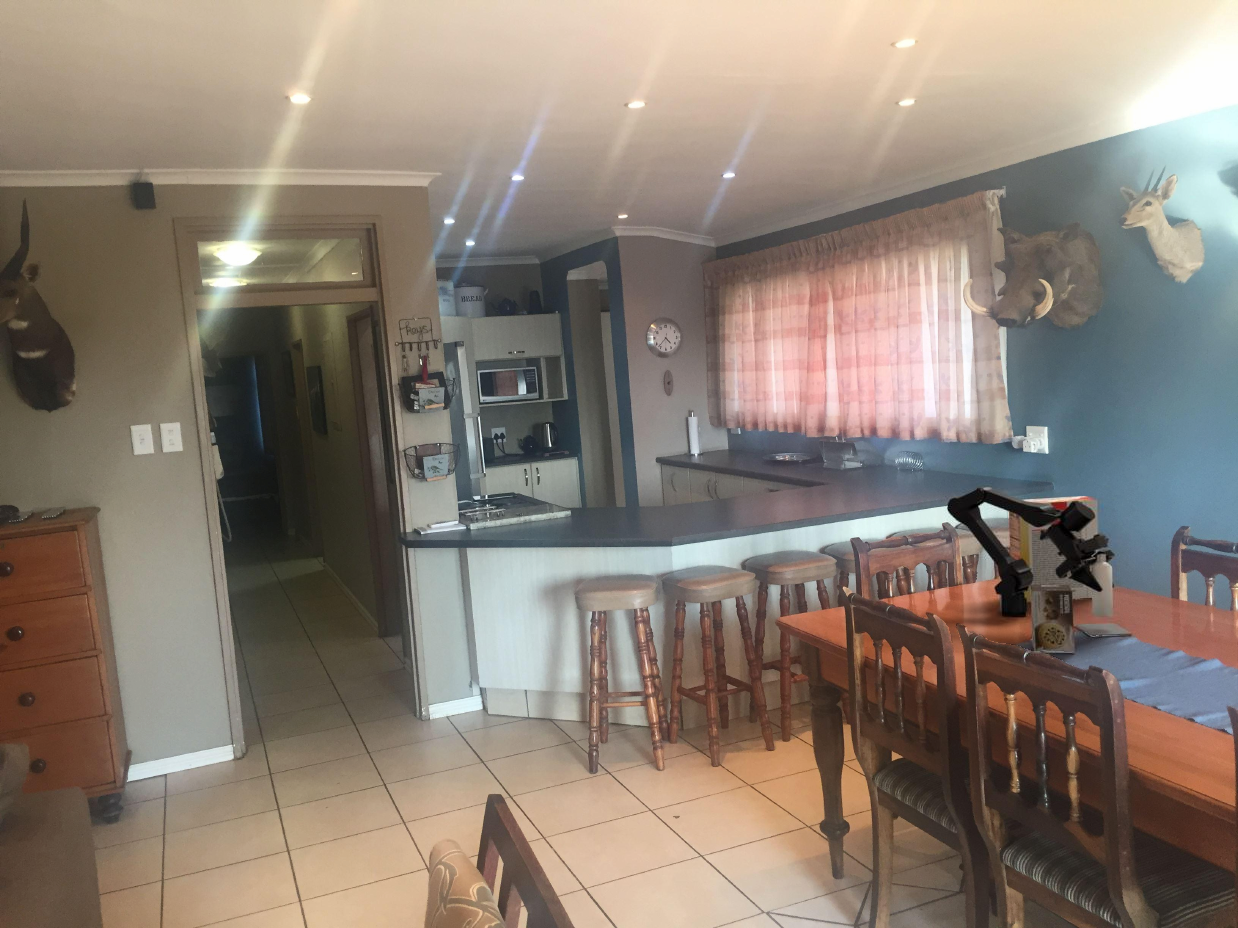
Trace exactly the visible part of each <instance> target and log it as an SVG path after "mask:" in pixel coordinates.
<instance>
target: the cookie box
mask: <svg viewBox="0 0 1238 928" xmlns="http://www.w3.org/2000/svg"><path fill="white" fill-rule="evenodd" d="M1073 601H1074V600H1073V594H1072V590H1071V588H1070V586H1069V585H1031V602H1030V607H1031V610H1030V611H1031V632H1032V633H1031V636H1032V637H1031V638H1032V641H1031V642H1032V648H1034V649H1033V651H1034V652H1035V651H1040V652H1045V651H1042V650H1046V651H1052V650H1053V651H1064V652H1073V653H1076V650H1075V629H1074V627H1075V624H1074V623H1075V622H1074V605H1073V604H1074V602H1073ZM1044 654H1049V653H1048V652H1045V653H1044Z"/></svg>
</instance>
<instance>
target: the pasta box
mask: <svg viewBox="0 0 1238 928" xmlns="http://www.w3.org/2000/svg"><path fill="white" fill-rule="evenodd" d="M1023 500H1024V501H1028V502H1037V503H1044V504H1050V505H1052V506H1054V507H1055V508H1056V509H1058V510H1063V511H1064V510H1065V509H1066V508H1067V507H1068V506H1069V505H1070V503H1071V502H1072V501H1076V500H1077V501H1078V502H1079V503H1081V504H1084V505H1085V506H1087V507H1088V508H1091V509H1092V511H1093V512H1094V513H1095V519H1093V520H1092V521H1091V522H1090V523H1089V524H1088V525H1087V526H1086V527H1084V528H1083V529H1082V530H1081V531H1080V532H1075V531H1074V532H1073V533H1074V535H1075V536H1076V537H1077V538H1078V539H1080V538H1083V539H1084V540H1085V541H1086V540H1088V539H1091V538H1093V536H1094V535H1096V534H1098V533H1099V521H1098V520H1099V519H1098V518H1099V516H1098V515H1099V513H1098V511H1099V510H1098V499H1097V498H1093V497H1089V496H1086V495H1083V496H1082V495H1079V496H1065V497H1048V498H1047V497H1046V498H1029V499H1023ZM1008 519H1009V520H1008V524H1009V525H1008V527H1009V529H1008V530H1009V554H1010V555H1011V556H1012V557H1013V558H1015V559H1016V560H1018V559H1021V558H1023V559H1024V560H1025V562H1026V564H1027V565H1028V566H1029V567H1030V568H1031V569H1032V570H1030V571H1031V572H1032V573H1033V576H1034V577H1033V582H1032V584H1031V585H1069V586H1070V588H1071V590H1072V594H1073V599H1075V600H1083V599H1082V598H1092V588H1090V587H1088V586H1086V585H1084V584H1082V583H1079V582H1077V581H1075V580H1073V579H1069V577H1070V576H1071V575H1072V574H1071V572H1070V571H1069V572H1068V573H1067V577H1066V578H1063V579H1060V578H1059V577H1058V576H1057V575H1056V572H1055V569H1056V568H1057V567H1058V566H1059V565H1060V564H1061V563H1062V562H1063V561H1064V560H1066V558H1065V557H1064V556H1059V555H1058V554H1057V553H1058V552H1059V550H1058V548H1057V547H1056V546H1055V545H1054V544H1053V543H1052V541H1051V540H1050V539H1046V540H1040V535H1041V530H1047V529H1048V528H1049V527H1050V526H1051V525H1052V524H1051V525H1047V526H1043V527H1034V526H1032V525H1031V524H1029V523H1027V522H1025V521H1024V520H1023V519H1022V518H1021V517H1020V516H1018V515H1017V514H1014V513H1012V512H1009V511H1008ZM1059 521H1060V520H1058V521H1055V523H1053V524H1057V523H1058V522H1059ZM1095 551H1096V553H1097V552H1098V551H1099V549H1097V550H1095ZM1096 553H1095V554H1096ZM1095 554H1094V555H1095ZM1094 555H1092V556H1094ZM1090 571H1091V569H1090ZM1031 585H1030V586H1029V588H1028V591H1025V592H1024V594H1025V597H1026V599H1027V603H1031ZM1080 598H1081V599H1080Z"/></svg>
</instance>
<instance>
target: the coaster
mask: <svg viewBox="0 0 1238 928" xmlns="http://www.w3.org/2000/svg"><path fill="white" fill-rule="evenodd" d="M1074 627H1075V628H1077V629H1078V630H1080V631H1082V632H1083V633H1084V632H1087V633H1088V634H1090V635H1092V636H1096V635H1099V636H1102V635H1118V636H1117V637H1127V636H1128V637H1129V636H1130V637H1131V636H1132V635H1133V633H1132V632H1130V631H1128V630H1127V629H1126V628H1124V627H1122V626H1119V625H1118V624H1117V623H1114V622H1108V623H1106V622H1105V623H1085V624H1081V623H1080V624H1074Z"/></svg>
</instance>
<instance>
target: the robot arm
mask: <svg viewBox="0 0 1238 928" xmlns="http://www.w3.org/2000/svg"><path fill="white" fill-rule="evenodd" d="M1024 500H1025V499H1021V498H1018V497H1015V496H1013V495H1010V494H1007V493H1004V492H1003V491H999V490H997V489H994V488H992V487H990V486H981V487H977V488H976V489H974V490H973V491H970V492H968V493H965V494H964V495H962V496H957V497H952V498H951V499H949V500H948V502H947V507H946V510H947V511H948V514H949V515H950V516H952V518H953V519H954V520H955V521H957V522H958V523H960V524H961V525H964V526H965V527H966V528H968V530H969V531H970V533H972V535H973V536H974V538H975V539H976V540H977V541H978V543H979V544H980V546H981V547H982V548H983V549H984V551H985V552H986V553H987V555H988V556H989V557H990V559H991V560H992V561H993V562H994V564H995V565H996V567H997V572H998V577H999V578H1000V580H1001V581H999V582H998V583H997V584H996V585H995V586H994V591H995V594H996V595H999V609H998V611H999V613H1000V615H1001V616H1002V617H1027V613H1028V602H1027V599H1026V597H1025V594H1024V592H1025V591H1028V588H1029V586H1030V585H1031V584H1032V582H1033V577H1034V576H1033V573H1032V572H1031V571H1030V570H1032V569H1031V568H1030V567H1029V566H1028V565H1027V564H1026V562H1025V560H1024V559H1023V558H1021V559H1018V560H1016V559H1015V558H1013V557H1012V556H1011V555H1010V551H1009V552H1008V550H1007V548H1006V547H1005V546H1004V544H1003V543H1002V542H1001V541H1000V540H999V538H998V537H997V536H996V535H995V533H994V532H993V531H992V529H991V528H990V527H989V525H988V524H987V523H986V521H985V520H984V519H983V518H982V513H981V508H980V506H981V505H983V504H984V503H986V504H988V505H990V506H994V507H996V508H999V509H1001V510H1004V511H1006V512H1008V513H1009V512H1012V513H1014V514H1017V515H1018V516H1020V517H1021V518H1022V519H1023V520H1024V521H1025V522H1027V523H1029V524H1031V525H1032V526H1034V527H1043V526H1047V525H1051V524H1052V525H1051V526H1050V527H1049V528H1048V529H1047V530H1041V535H1040V540H1046V539H1050V540H1051V541H1052V543H1053V544H1054V545H1055V546H1056V547H1057V548H1058V550H1059V552H1058V553H1057V554H1058V555H1059V556H1064V557H1065V558H1066V560H1064V561H1063V562H1062V563H1061V564H1060V565H1059V566H1058V567H1057V568H1056V569H1055V572H1056V575H1057V576H1058V577H1059V578H1060V579H1063V578H1066V577H1067V573H1068V572H1069V571H1070V572H1071V574H1072V575H1071V576H1070V577H1069V579H1073V580H1075V581H1077V582H1079V583H1082V584H1084V585H1086V586H1088V587H1090V588H1092V589H1094V590H1096V591H1098V592H1101V591H1102V590H1103V589H1102V588H1101V586H1100V584H1099V583H1098V582H1097V580H1096V579H1095V578H1094V576H1093V575H1092V573H1091V571H1090V569H1091V566H1092V565H1093V564H1094V563H1096V562H1097V555H1099V554H1106V561H1104V562H1107V563H1108V564H1109V562H1110V561H1111V560H1112V559H1113V558H1115V556H1116V555H1115V553H1114V552H1113V551H1112V550H1111V549H1106V548H1108V547H1109V545H1108V543H1109V538H1108V537H1107V536H1106V535H1105V534H1104V533H1103V532H1098V534H1096V535H1094V536H1093V538H1091V539H1088V540H1086V541H1085V540H1084V539H1083V538H1080V539H1078V538H1077V537H1076V536H1075V535H1074V533H1073V532H1074V531H1075V532H1080V531H1081V530H1082V529H1083V528H1084V527H1086V526H1087V525H1088V524H1089V523H1090V522H1091V521H1092V520H1093V519H1095V513H1094V512H1093V511H1092V509H1091V508H1088V507H1087V506H1085V505H1084V504H1081V503H1079V502H1078V501H1077V500H1076V501H1072V502H1071V503H1070V505H1069V506H1068V507H1067V508H1066V509H1065V510H1064V511H1063V510H1058V509H1056V508H1055V507H1054V506H1052V505H1050V504H1044V503H1037V502H1028V501H1024ZM1058 520H1060V521H1059V522H1058V523H1057V524H1053V523H1055V521H1058ZM1103 548H1105V549H1103ZM1097 549H1098V552H1097V553H1096V551H1095V550H1097ZM1100 549H1101V550H1100ZM1095 553H1096V554H1095ZM1094 554H1095V555H1094ZM1092 555H1094V556H1092ZM1113 588H1115V585H1114V581H1112V589H1113Z"/></svg>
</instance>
